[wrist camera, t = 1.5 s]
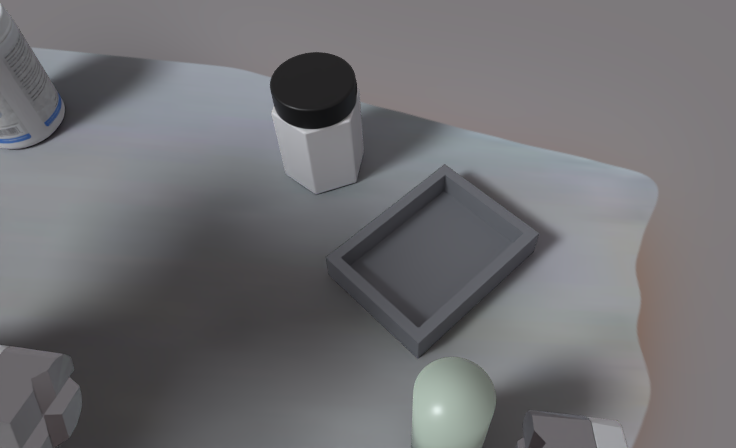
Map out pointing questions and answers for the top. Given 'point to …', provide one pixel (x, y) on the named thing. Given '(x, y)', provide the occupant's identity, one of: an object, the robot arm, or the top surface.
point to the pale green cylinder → (452, 405)
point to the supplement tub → (24, 91)
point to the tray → (431, 258)
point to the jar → (318, 120)
